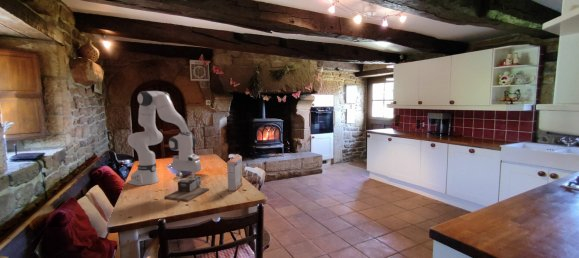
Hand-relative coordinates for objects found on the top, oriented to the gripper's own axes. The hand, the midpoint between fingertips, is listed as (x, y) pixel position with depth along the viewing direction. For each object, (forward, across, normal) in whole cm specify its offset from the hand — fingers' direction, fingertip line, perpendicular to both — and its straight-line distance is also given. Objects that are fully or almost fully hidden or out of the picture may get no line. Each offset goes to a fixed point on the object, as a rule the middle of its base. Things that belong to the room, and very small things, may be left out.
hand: (186, 177), depth 182 cm
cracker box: (+11, +25, +21) cm, 34 cm away
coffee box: (+7, -5, +16) cm, 19 cm away
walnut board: (+12, +1, 0) cm, 12 cm away
